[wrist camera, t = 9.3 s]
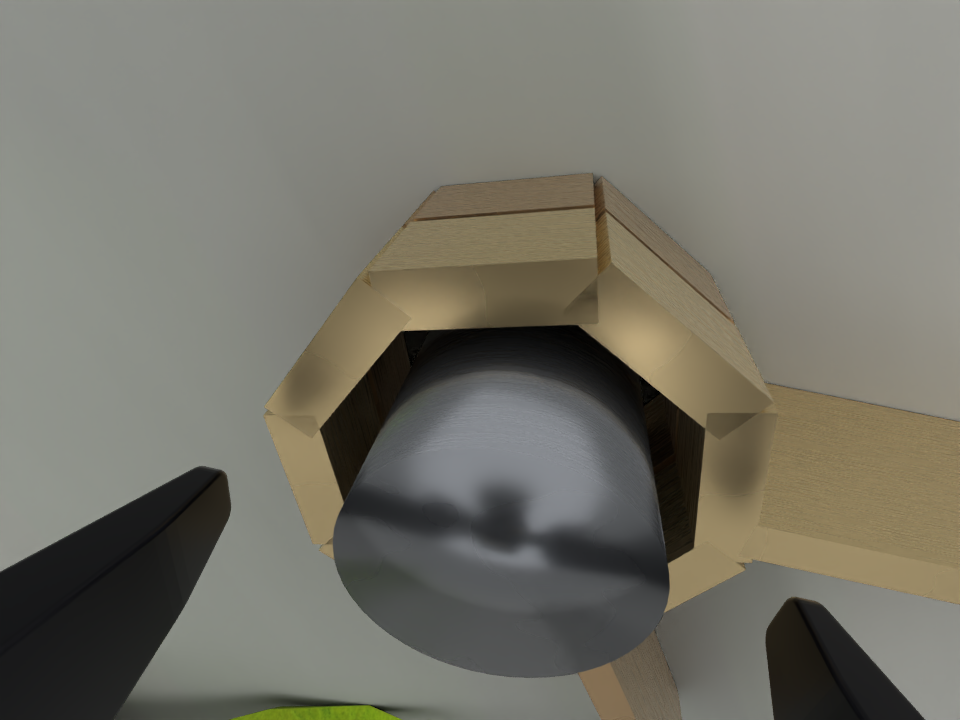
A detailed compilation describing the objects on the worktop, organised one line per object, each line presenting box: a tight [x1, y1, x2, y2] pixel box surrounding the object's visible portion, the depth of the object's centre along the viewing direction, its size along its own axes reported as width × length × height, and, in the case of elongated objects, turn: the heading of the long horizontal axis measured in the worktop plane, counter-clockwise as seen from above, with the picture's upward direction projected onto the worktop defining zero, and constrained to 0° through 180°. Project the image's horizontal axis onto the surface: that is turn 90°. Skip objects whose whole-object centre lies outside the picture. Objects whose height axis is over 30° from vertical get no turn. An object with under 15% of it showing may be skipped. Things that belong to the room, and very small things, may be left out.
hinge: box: [263, 173, 960, 720], centre depth 13 cm, size 18×16×5 cm
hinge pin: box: [333, 325, 670, 678], centre depth 11 cm, size 5×5×7 cm
